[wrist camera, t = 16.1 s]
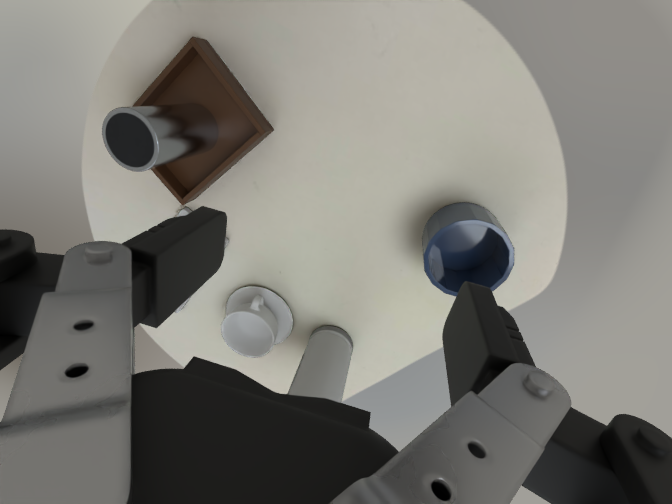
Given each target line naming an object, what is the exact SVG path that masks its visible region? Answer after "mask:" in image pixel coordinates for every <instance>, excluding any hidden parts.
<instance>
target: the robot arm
mask: <svg viewBox="0 0 672 504" xmlns="http://www.w3.org/2000/svg"><path fill="white" fill-rule="evenodd" d="M226 225H227V216H226V213H225V212H222V211H218V210H215V209H211V208H208V207H204V206H202V207H200V208H198V209H196V210H194V211H193V212H191V213H189V214H187V215H185V216H184V215H183V216H179V217H174V218H170V219H167V220H165V221H163V222H162V223H160V224H158V225H157V226H154V227H152V228H150V229H148V231H145V232H143V233H141V234H139V235H137V236H135V237H133V238H132V239H130V240H128V241H126V242H124V243H122V244H119V243H116V242H108V241H95V242H88V243H83V244H79V245H77V246H74V247H73V248H71V249H69V250H68V251H67V252H66V254H65V255H57V254H47V253H37V252H36V249H35V243H34V238H33V237H32V236H31V235H30V234H28V233H25V232H22V231H17V230H0V370H1V369H3V368H4V367H5V366H7V365H8V364H9V363H11V362H12V361H13V360H14V359H16V358H17V357H19V356H20V355H21V354H23V353H24V354H23V357H22V360H21V363H20V366H19V370H18V373H17V376H16V379H15V382H14V385H13V388H12V391H11V394H10V398H9V401H8V404H7V407H6V410H5V413H4V416H3V419H2V421H1V422H0V504H510V502H511V500H512V499H513V497H514V496H515V494H516V493H517V491H518V490H519V488H520V486H521V485H522V486H524V487H525V488H527V489H528V490H530V491H532V492H533V493H535V494H536V495H538V496H540V497H541V498H543V499H545V500H546V501H548V502H549V503H551V504H672V438H670V437H669V436H668V435H667V434H665V433H664V432H663V431H661V430H660V429H658V428H656V427H655V426H654V425H652V424H650V423H648V422H646V421H644V420H642V419H640V418H637V417H635V416H631V415H627V414H619V415H616V416H615V417H614V418H613V419H612V421H611V422H610V423H609V424H608V425H607V426H606V425H604V424H602V423H600V422H598V421H596V420H594V419H592V418H590V417H588V416H587V415H585V414H582V413H581V412H578V411H577V410H575V409H573V408H572V407H571V399H570V396H569V394H568V393H567V391H566V390H565V388H564V387H563V386H562V385H561V384H560V383H559V382H558V381H557V380H556V379H554V378H553V377H552V376H550V375H549V374H547V373H546V372H544V371H542V370H541V369H539V368H536V366H535V364H534V362H533V359H532V357H531V355H530V353H529V351H528V348H527V346H526V344H525V342H523V337H522V335H521V333H520V332H519V329H518V327H517V324H516V322H515V320H514V318H513V317H512V316H511V315H510V314H509V313H508V312H507V311H506V310H505V309H504V308H503V307H500V306H497V303H496V301H495V298H494V296H493V293H492V291H491V289H490V288H489V287H485V286H482V285H478V284H475V283H471V282H468V281H465V282H464V283H463V284H462V286H461V288H460V290H459V292H458V294H457V297H456V299H455V301H454V303H453V306H452V308H451V310H450V313H449V315H448V317H447V319H446V322H445V325H444V329H443V347H444V354H445V362H446V369H447V377H448V384H449V393H450V400H451V408H450V409H449V410H447V411H446V412H445V413H444V414H443V415H441V416H440V417H439V418H438V419H437V420H436V421H435V422H433V423H432V424H431V425H430V426H429V427H428V428H427V429H425V430H424V431H423V432H422V433H421V434H420V435H418V436H417V437H416V438H415V439H414V440H413V441H412V442H410V443H409V444H408V445H407V446H406V447H405V448H403V449H402V450H401V451H400V452H398V451H397V450H396V448H395V447H393V446H392V445H391V444H390V443H389V442H388V441H387V440H386V439H384V438H383V437H382V436H380V435H379V434H378V433H376V432H375V431H373V430H371V429H370V428H369V421H370V412H368V411H365V410H361V409H358V408H355V407H352V406H349V405H346V404H343V403H339V402H336V401H333V400H330V399H327V398H319V397H308V396H298V395H287V394H279V393H275V392H273V391H271V390H270V389H268V388H266V387H264V386H263V385H261V384H259V383H258V382H256V381H254V380H253V379H251V378H249V377H247V376H246V375H244V374H242V373H241V372H239V371H237V370H235V369H232V368H229V367H226V366H223V365H219V364H216V363H213V362H210V361H207V360H204V359H200V358H197V357H193V358H192V359H191V361H190V362H189V363H188V364H187V365H186V367H185V368H184V369H158V370H152V371H145V372H141V373H137V374H135V338H134V337H135V335H134V327H136V326H137V325H138V324H139V323H142V324H145V325H148V326H151V327H155V328H157V327H158V326H159V325H161V324H162V323H163V322H164V321H165V320H166V319H167V318H168V317H169V316H170V315H171V314H172V313H173V312H174V311H175V310H176V309H178V308H179V307H180V306H181V305H182V304H183V303H184V302H185V301H186V300H187V299H188V298H189V297H190V296H191V295H192V294H193V293H195V292H196V291H197V290H198V289H199V288H200V287H201V286H202V285H203V284H204V283H205V282H206V281H207V280H208V279H209V278H210V277H212V276H213V275H214V274H215V273H216V272H217V271H218V269H219V268H220V266H221V263H222V261H223V257H224V248H225V236H226Z"/></svg>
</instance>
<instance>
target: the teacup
mask: <svg viewBox="0 0 672 504" xmlns="http://www.w3.org/2000/svg"><path fill="white" fill-rule="evenodd" d="M226 315H227V316H226V317H225V318H224V320H223V322H222V325H221V333H222V337H223V339H224V341H225V342H226V344H227V345H228V346H229V347H230V348H231V349H232V350H233V351H235V352H236V353H238V354H240V355H243V356H246V357H252V358H256V357H261V356H264V355H266V354H267V353H269V352H270V351H271V349H272V348H273V345H276V344H279V343H281V342H282V341H284V340H285V339H286V338H287V337H288V336H289V335H290V333H291V331H292V327H293V318H292V314H291V311H290V309H289V307H288V306H287V304H286V303H285V302H284V300H283V299H282V298H281V297H279V296H278V295H277V294H275V293H274V292H272V291H270V290H268V289H265V288H262V287H256V286H249V287H243V288H240V289H238V290H236V291H235V292H234V293H233V294H232V295H231V296H230V297H229V299H228V301H227V305H226Z"/></svg>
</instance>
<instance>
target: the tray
mask: <svg viewBox="0 0 672 504" xmlns="http://www.w3.org/2000/svg"><path fill="white" fill-rule="evenodd" d="M187 103H196V104H200V105H202V106H204V107H205V108H207V109H208V110H209V111H210V112H211V113H212V115H213V116H214V118H215V120H216V122H217V125H218V130H219V135H218V140H217V143H216V144H215V146H214V147H213V148H212V149H211V150H210V151H208V152H205V153H202V154H198V155H195V156H192V157H188V158H185V159H182V160H179V161H175V162H172V163H169V164H166V165H162V166H159V167H156V168H152V169H151V170H152V171H153V172H154V173H155V174H156V176H157V177H158V178H159V179H160V180H161V181H162V182H163V184H164V185H165V186H166V187H167V188H168V189H169V191H170V192H171V193H172V194H173V195H174V196H175V197H176V199H177V200H178V201H179V202H180V203H181V204H182V205H184V204H186V203H188V202H190V201H192V200H194V199H196V198H197V197H198V196H199V195H200V194H201V193H202V192H204V191H205V190H206V189H207V188H208V187H209V186H210V185H212V184H213V183H214V182H215V181H216V180H217V179H219V178H220V177H221V176H222V175H223V174H224V173H225V172H227V171H228V170H229V169H230V168H231V167H232V166H233V165H235V164H236V163H237V162H238V161H239V160H240V159H241V158H243V157H244V156H245V155H246V154H247V153H248V152H249V151H251V150H252V149H253V148H254V147H255V146H256V145H258V144H259V143H260V142H261V141H262V140H263V139H264V138H266V137H267V136H268V135H269V134H270V133H271V132H272V131H274V129H273V128H272V126H271V125H270V124H269V122H268V121H267V120H266V118H265V117H264V116H263V114H262V113H261V112H260V110H259V109H258V108H257V106H256V105H255V104H254V102H253V101H252V100H251V98H250V97H249V96H248V94H247V93H246V92H245V90H244V89H243V88H242V86H241V85H240V84H239V82H238V81H237V80H236V78H235V77H234V76H233V74H232V73H231V72H230V70H229V69H228V68H227V66H226V65H225V64H224V62H223V61H222V60H221V58H220V57H219V56H218V54H217V53H216V52H215V50H214V49H213V48H212V46H211V45H210V44H209V42H208V41H207V40H204V39H200V38H196V37H192V38H191V39H190V40H189V42H188V43H187V44H186V45H185V46H184V47H183V49H182V50H181V51H180V52H179V53H178V54H177V55H176V57H175V58H174V59H173V60H172V61H171V62H170V63H169V65H168V66H167V67H166V68H165V69H164V70H163V71H162V73H161V74H160V75H159V76H158V77H157V78H156V80H155V81H154V82H153V83H152V84H151V85H150V86H149V88H148V89H147V90H146V91H145V92H144V93H143V94H142V96H141V97H140V98H139V99H138V100H137V101H136V103H135V104H134V105H133V106H132V107H137V106H154V105H170V104H187Z"/></svg>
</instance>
